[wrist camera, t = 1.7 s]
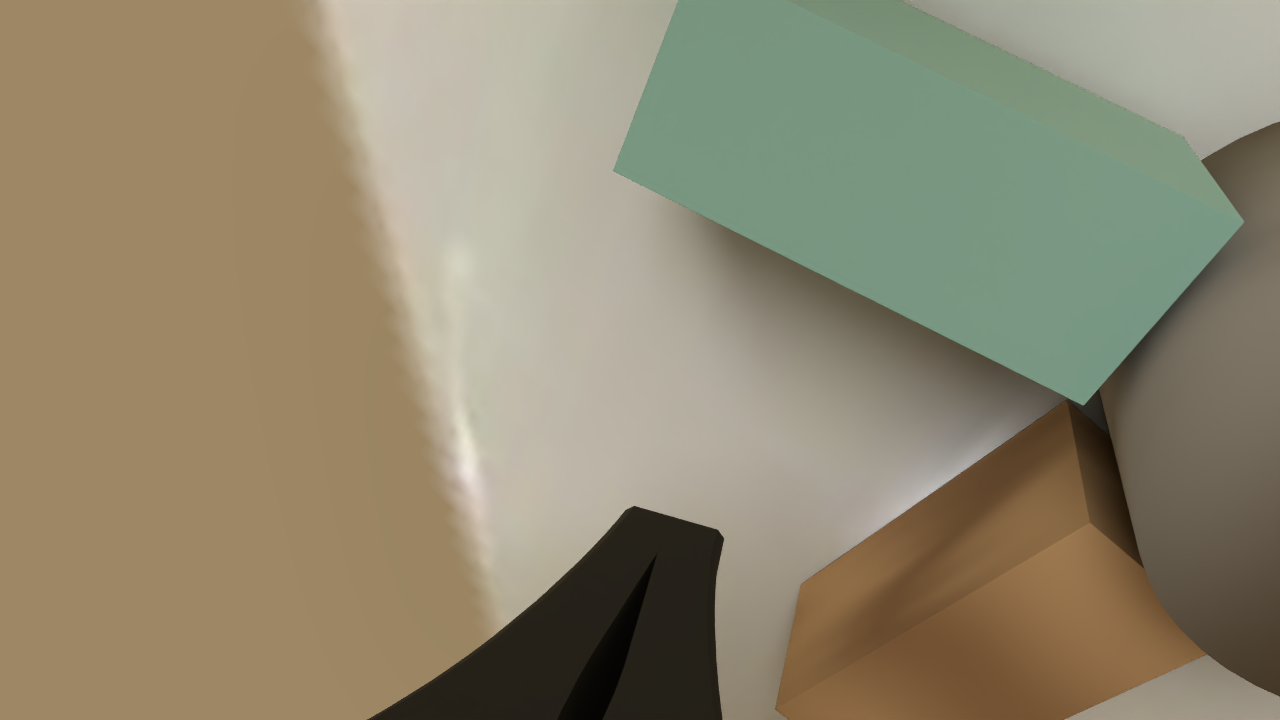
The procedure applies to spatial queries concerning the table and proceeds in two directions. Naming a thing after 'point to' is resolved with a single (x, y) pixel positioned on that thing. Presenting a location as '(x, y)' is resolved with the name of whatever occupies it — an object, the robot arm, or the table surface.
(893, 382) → the table surface
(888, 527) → the stool base
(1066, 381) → the folding leg
